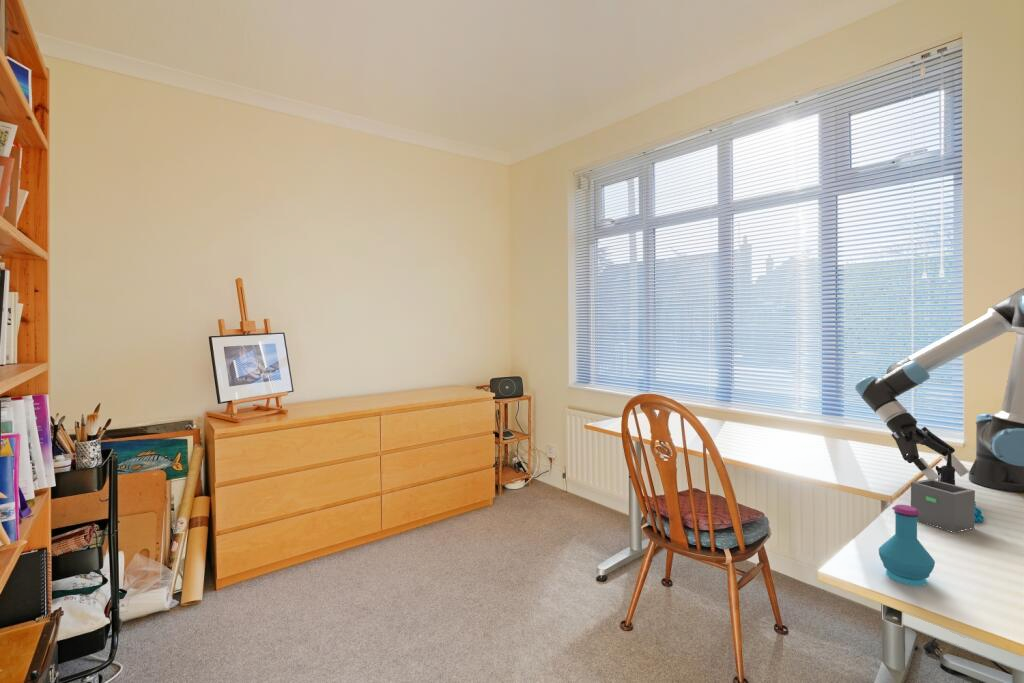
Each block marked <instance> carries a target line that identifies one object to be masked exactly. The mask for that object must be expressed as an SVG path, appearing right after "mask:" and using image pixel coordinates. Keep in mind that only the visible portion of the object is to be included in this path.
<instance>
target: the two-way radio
mask: <svg viewBox="0 0 1024 683" xmlns="http://www.w3.org/2000/svg"><path fill="white" fill-rule="evenodd" d="M935 471H936V474H937V475H938V476H939V478H937V481H940V482H944V483H948V484H952V485H956V478H955V477H956V471H955V468H954V467H953V466H952V457H951V452H950V451H948V457H947V461H946V464H945V465H942V466H938V465H936V466H935Z"/></svg>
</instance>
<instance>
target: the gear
mask: <svg viewBox="0 0 1024 683" xmlns="http://www.w3.org/2000/svg"><path fill="white" fill-rule="evenodd" d="M976 503H977V502H976V501H975V518H974V523H975V522H977V523H979V522H981V523H982V522H984V519H985V516H984V515H982V514H983V512H982V510H981V509H980V508H978V507H976V506H977V504H976Z"/></svg>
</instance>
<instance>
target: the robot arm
mask: <svg viewBox="0 0 1024 683" xmlns="http://www.w3.org/2000/svg"><path fill="white" fill-rule="evenodd" d="M1005 333H1016V336H1015V344H1014V348H1013V352H1012V357H1011V362H1010V367H1009V371H1008V375H1007V380H1006V386H1005V389H1004V390H1005V391H1004V395H1003V399H1002V404H1001V408H1000V410H999V411H997V412H995V413H979V414H978V415H976V416H977V417H976V421H975V424H976V432H975V433H976V437H975V439H976V440H975V441H976V442H975V444H976V445H975V446H976V447H975V452H976V453H975V458H974V461H973V462H972V466H971V467H970V469H968V468H967V467H966V466H965V464H963V463H962V462H961V461H960V459H958V458H957V457H956V456H955V454H953V453H955V452H956V450H955V448H954V447H953V446H951V445H950V444H948V443H947V442H945V441H944V440H943V439H941V438H940V437H938V436H937V435H935V434H934V433H933V432H932V431H930V430H929V429H928V427H926V426H923V427H921V428H919V427H917V424H918V421H917V419H916V418H915V417H914V416H913V415H912V414H911V413H910V412H908V410H907V408H906V407H904V406H903V404H902V403H900V402H899V400H898V399H897V397H899V396H901V395H902V394H905V392H908V391H910V390H912V389H913V388H915V387H917V386H919V385H922V384H923V383H924V382H926V381H927V380H929V379H930V378H931V375H930V373H931V372H933V371H934V370H936V369H938V368H941V367H942V366H944V365H946V364H947V363H950V362H952V361H953V360H955V359H958V358H959V357H961V356H963V355H965V354H967V353H969V352H970V351H973V350H975V349H976V348H979V347H980V346H982V345H985V344H986V343H988V342H990V341H992V340H994V339H997V338H998V337H1000V336H1001V335H1004V334H1005ZM885 373H886V374H885V375H884V376H881V377H879V378H878V377H876V376H874V375H870V376H866V377H864V378H862V379H861V380H859V381H858V382H857V383H856V384H855V386H854V389H855V391H856V393H857V394H858V395H859V396H860V397H861V399H862V400H863V401H864V402H865V403H866V405H868V407H870V408H871V410H872V411H873V412H874V413H875V414H876V415H877V416H878V417H879V419H880V420H881V422H883V423H884V424H886V427H887V428H888V429H889V430H890V432H892V433H891V437H892V438H893V440H894V441H895V443H896V445H897V447H898V450H899V452H900V454H901V457H902V458H903V460H904V461H905V462H907V463H909V464H912V463H913V465H915V466H916V468H918V470H919V471H920V472H921V473H922V474H923V475H924V476H925V478H927V479H933V480H938V478H939V476H938V473H937V471H936V470H934V469H933V468H932V466H930V464H929V463H928V462H927V461H926V460H925V459H924V458H923V457H920V455H919V449H918V445H921V446H926V447H927V448H929V449H930V450H932V451H934V452H936V453H938V454H939V455H941V456H943V459H944V460H945V462H947V457H948V451H950V452H951V457H952V466H953V467H954V468H955V473H957V475H959V477H964V476H965V475H966V474H968V481H969V482H971V483H973V484H977V485H979V486H982V487H986V488H991V489H996V490H1000V491H1008V492H1017V493H1018V492H1019V493H1024V287H1023V288H1020V289H1018V290H1016V291H1015V292H1013V293H1012V294H1010V295H1009V296H1007V298H1004V299H1003V300H1001V301H1000V302H998V303H996V304H994V305H992V307H990V308H988V309H987V313H986V314H983V315H982V316H980V317H979V318H977V319H975V320H973V321H971V322H969V323H967V324H966V325H964V326H961V327H959V328H958V329H957V330H955V331H953V332H951V333H950V334H948V335H945V336H943V337H942V338H940V339H938V340H937V341H934V342H933V343H931V344H929V345H927V346H926V347H923V348H922V349H920V350H918V351H916V352H915V353H913V354H911V355H909V356H907V357H906V358H904V359H901V360H899V362H895V363H892V364H891V365H889V366H888V367H887V368H886V372H885Z"/></svg>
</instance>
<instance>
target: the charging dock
mask: <svg viewBox="0 0 1024 683" xmlns="http://www.w3.org/2000/svg"><path fill="white" fill-rule="evenodd" d="M975 496H976V491H975V490H974V489H971V488H967V487H963V486H960V485H959V486H958V485H956V484H955V485H952V484H948V483H944V482H940V481H938V479H936V480H933V479H928V478H927V479H922V480H918V481H917V480H916V481H912V482H910V506H912V507H914V508H916V509H917V510H918V511H919V512H920V513H921V514H919V515H918V518H917V520H919V521H918V522H920V521H922V522H921V523H923V522H925V523H924V524H926V523H928V524H927V525H929V524H931V525H930V526H932V525H934V526H933V527H935V526H938V527H941V528H943V529H942V530H944V529H946V530H945V531H947V530H949V531H952V532H957V533H959V532H958V531H961V530H965V529H970V528H974V529H975V522H974V518H975V504H976V503H975V502H976V497H975ZM938 527H937V528H938ZM941 528H940V529H941ZM970 530H971V529H970ZM949 531H948V532H949ZM965 531H966V530H965ZM952 532H951V533H952ZM961 532H962V531H961Z"/></svg>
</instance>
